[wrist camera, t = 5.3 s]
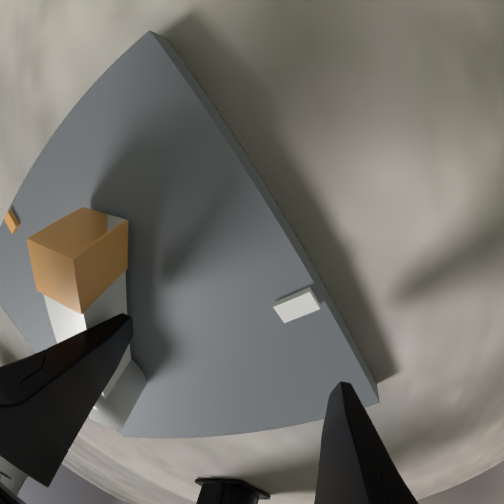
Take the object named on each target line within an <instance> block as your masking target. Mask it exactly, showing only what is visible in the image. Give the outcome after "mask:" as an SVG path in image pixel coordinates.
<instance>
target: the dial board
mask: <svg viewBox="0 0 504 504" xmlns="http://www.w3.org/2000/svg"><path fill="white" fill-rule="evenodd" d="M82 207H85V208H88V209H92V210H95V211H99V212H102V213H105V214H109V215H112V216H116V217H119V218H122V219H126V220H129V221H128V269H127V270H126V301H127V315H129V316H131V317H132V319H133V336H132V339H131V341H130V352H131V359H132V360H133V361H134V362H135V363H136V364H137V365H138V366H139V367H140V369H141V370H142V372H143V373H144V375H145V377H146V386H145V388H144V390H143V392H142V393H141V395H140V397H139V399H138V401H137V403H136V404H135V406H134V408H133V410H132V412H131V414H130V415H129V417H128V419H127V421H126V423H125V425H124V427H123V428H122V429H120V430H116V429H115V430H116V431H118V432H119V433H120V434H121V435H123V436H124V437H139V438H192V437H210V436H223V435H233V434H242V433H250V432H258V431H265V430H271V429H277V428H283V427H288V426H293V425H298V424H303V423H308V422H312V421H317V420H321V419H325V415H326V410H327V404H328V398H329V395H330V393H331V392H332V390H333V389H334V388H335V387H336V385H337V384H338V383H339V382H340V381H344V382H349V383H351V384H352V386H353V388H354V390H355V392H356V393H357V395H358V397H359V399H360V401H361V403H362V404H363V406H364V407H367V406H370V405H373V404H376V403H379V396H378V389H377V384H376V382H375V380H374V378H373V376H372V374H371V372H370V370H369V368H368V366H367V364H366V362H365V360H364V358H363V356H362V354H361V352H360V350H359V348H358V346H357V344H356V342H355V340H354V339H353V337H352V335H351V333H350V331H349V329H348V327H347V325H346V323H345V322H344V320H343V318H342V316H341V314H340V312H339V310H338V308H337V307H336V305H335V303H334V301H333V299H332V297H331V296H330V294H329V292H328V290H327V288H326V287H325V285H324V283H323V281H322V279H321V278H320V276H319V274H318V272H317V271H316V269H315V267H314V265H313V264H312V262H311V260H310V258H309V257H308V255H307V253H306V251H305V250H304V248H303V246H302V244H301V243H300V241H299V239H298V238H297V236H296V234H295V233H294V231H293V229H292V227H291V226H290V224H289V222H288V221H287V219H286V217H285V216H284V214H283V212H282V211H281V209H280V207H279V206H278V204H277V202H276V201H275V199H274V198H273V196H272V194H271V193H270V191H269V189H268V188H267V186H266V185H265V183H264V181H263V180H262V178H261V177H260V175H259V173H258V172H257V170H256V169H255V167H254V166H253V164H252V162H251V161H250V159H249V158H248V156H247V155H246V153H245V151H244V150H243V148H242V147H241V145H240V144H239V142H238V141H237V139H236V138H235V136H234V135H233V133H232V132H231V130H230V129H229V127H228V126H227V124H226V123H225V121H224V120H223V118H222V117H221V115H220V114H219V112H218V111H217V109H216V108H215V106H214V105H213V103H212V102H211V100H210V99H209V97H208V96H207V95H206V93H205V92H204V90H203V89H202V87H201V86H200V85H199V83H198V82H197V80H196V79H195V77H194V76H193V75H192V73H191V72H190V70H189V69H188V68H187V66H186V65H185V63H184V62H183V61H182V59H181V58H180V57H179V55H178V54H177V52H176V51H175V50H174V48H173V47H172V46H171V44H170V43H169V42H168V40H167V39H166V38H165V37H163V36H161V35H158V34H156V33H154V32H152V31H148V32H147V33H146V34H145V35H144V36H143V37H141V38H140V39H139V40H138V41H137V42H136V43H135V44H133V45H132V46H131V47H130V48H129V49H128V50H127V51H126V52H125V53H124V54H123V55H122V56H120V57H119V58H118V59H117V60H116V61H115V62H114V63H113V64H112V65H111V66H110V67H109V68H108V69H107V70H106V71H105V72H104V74H103V75H102V76H101V77H100V78H99V79H98V80H97V81H96V82H95V83H94V84H93V85H92V87H91V88H90V89H89V90H88V91H87V92H86V93H85V94H84V96H83V97H82V98H81V99H80V100H79V102H78V103H77V104H76V105H75V106H74V108H73V109H72V110H71V111H70V113H69V114H68V115H67V117H66V118H65V119H64V120H63V122H62V123H61V124H60V126H59V127H58V129H57V130H56V131H55V133H54V134H53V136H52V137H51V138H50V140H49V141H48V143H47V144H46V146H45V147H44V149H43V150H42V152H41V153H40V155H39V156H38V158H37V160H36V161H35V163H34V164H33V166H32V168H31V169H30V171H29V173H28V174H27V176H26V178H25V180H24V181H23V183H22V185H21V187H20V189H19V190H18V192H17V194H16V196H15V198H14V200H13V202H12V204H11V206H10V208H9V210H8V212H7V214H6V216H5V218H4V220H3V223H2V225H1V227H0V305H1V307H2V308H3V310H4V311H5V313H6V314H7V316H8V317H9V318H10V320H11V321H12V323H13V324H14V325H15V327H16V328H17V329H18V331H19V332H20V333H21V335H22V336H23V337H24V339H25V340H26V341H27V342H28V344H29V345H30V346H31V347H32V349H33V350H34V351H35V352H36V353H38V352H40V351H42V350H44V349H47V348H49V347H51V346H53V345H55V344H57V341H56V338H55V335H54V331H53V328H52V325H51V321H50V318H49V314H48V310H47V307H46V303H45V299H44V295H43V294H42V293H40V292H39V291H37V289H36V285H35V280H34V276H33V271H32V266H31V261H30V255H29V249H28V243H27V238H29V237H30V236H32V235H34V234H35V233H37V232H39V231H40V230H42V229H44V228H45V227H47V226H49V225H51V224H52V223H54V222H56V221H58V220H59V219H61V218H63V217H65V216H67V215H69V214H70V213H72V212H74V211H76V210H78V209H80V208H82Z"/></svg>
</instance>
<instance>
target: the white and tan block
mask: <svg viewBox="0 0 504 504" xmlns="http://www.w3.org/2000/svg"><path fill="white" fill-rule="evenodd" d="M128 221H129V220H126V219H122V218H119V217H116V216H112V215H109V214H105V213H102V212H99V211H95V210H92V209H88V208H85V207H82V208H80V209H78V210H76V211H74V212H72V213H70V214H69V215H67V216H65V217H63V218H61V219H59V220H58V221H56V222H54V223H52V224H51V225H49V226H47V227H45V228H44V229H42V230H40V231H39V232H37V233H35V234H34V235H32V236H30V237H29V238H27V243H28V249H29V255H30V261H31V266H32V271H33V276H34V280H35V285H36V289H37V291H39V292H40V293H42V294H43V295H44V299H45V303H46V307H47V310H48V314H49V318H50V321H51V325H52V328H53V331H54V335H55V338H56V341H57V343H59V342H61V341H63V340H66V339H68V338H70V337H72V336H74V335H76V334H78V333H80V332H82V331H84V330H87V329H89V328H91V327H93V326H95V325H97V324H99V323H101V322H103V321H105V320H108V319H110V318H112V317H114V316H116V315H118V314H120V313H125V314H127V301H126V270H127V269H128ZM145 386H146V377H145V375H144V373H143V372H142V370H141V369H140V367H139V366H138V365H137V364H136V363H135V362H134V361H133V360H132V359H131V352H130V343H129V345H128V347H127V349H126V351H125V353H124V355H123V357H122V359H121V361H120V364H119V366H118V368H117V370H116V371H115V373H114V375H113V376H112V378H111V379H110V381H109V383H108V384H107V386H106V387H105V389H104V391H103V392H102V394H101V395H100V397H99V399H98V400H97V402H96V404H95V405H94V407H93V409H92V410H91V412H90V414H89V415H88V417H89V418H91V419H92V420H94V421H96V422H97V423H99V424H101V425H103V426H106V427H108V428H111V429H116V430H120V429H122V428H123V427H124V425H125V423H126V421H127V419H128V417H129V415H130V414H131V412H132V410H133V408H134V406H135V404H136V403H137V401H138V399H139V397H140V395H141V393H142V392H143V390H144V388H145Z"/></svg>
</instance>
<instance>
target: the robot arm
mask: <svg viewBox="0 0 504 504" xmlns="http://www.w3.org/2000/svg"><path fill="white" fill-rule="evenodd" d="M132 336H133V319H132V317H131V316H129V315H127V314H125V313H120V314H118V315H116V316H114V317H112V318H110V319H108V320H105V321H103V322H101V323H99V324H97V325H95V326H93V327H91V328H89V329H87V330H84V331H82V332H80V333H78V334H76V335H74V336H72V337H70V338H68V339H66V340H63V341H61V342H59V343H57V344H55V345H53V346H51V347H49V348H47V349H44V350H42V351H40V352H38V353H36V354H34V355H31V356H29V357H27V358H24V359H21V360H19V361H16V362H13V363H10V364H7V365H4V366H1V367H0V504H26V503H25V502H23V501H22V500H21V499H20V498H19V497H17V496H18V494H19V492H20V491H21V489H22V487H23V485H24V484H25V482H26V480H27V478H28V477H29V476H30V477H31V478H33V479H34V480H36V481H38V482H39V483H41V484H43V485H44V486H46V487H49V485H50V484H51V482H52V480H53V478H54V476H55V474H56V472H57V470H58V468H59V466H60V465H61V463H62V461H63V459H64V457H65V456H66V454H67V452H68V449H69V448H70V446H71V445H72V443H73V441H74V439H75V438H76V436H77V434H78V432H79V431H80V429H81V427H82V426H83V424H84V422H85V420H86V419H87V417H88V415H89V414H90V412H91V410H92V409H93V407H94V405H95V404H96V402H97V400H98V399H99V397H100V395H101V394H102V392H103V391H104V389H105V387H106V386H107V384H108V383H109V381H110V379H111V378H112V376H113V375H114V373H115V371H116V370H117V368H118V366H119V364H120V361H121V359H122V357H123V355H124V353H125V351H126V349H127V347H128V345H129V343H130V341H131V339H132ZM389 457H390V456H389V454H388V452H387V450H386V448H385V446H384V444H383V442H382V440H381V438H380V437H379V435H378V433H377V431H376V429H375V427H374V425H373V423H372V421H371V419H370V418H369V416H368V414H367V412H366V410H365V408H364V406H363V404H362V403H361V401H360V399H359V397H358V395H357V393H356V392H355V390H354V388H353V386H352V384H351V383H349V382H344V381H340V382H339V383H338V384H337V385H336V387H335V388H334V389H333V390H332V392H331V393H330V395H329V398H328V404H327V410H326V415H325V420H324V425H323V431H322V438H321V450H320V461H319V470H318V479H317V488H316V495H315V503H314V504H418V502H417V501H416V499H415V498H414V496H413V495H412V493H411V492H410V490H409V489H408V487H407V486H406V484H405V482H404V481H403V479H402V478H401V476H400V474H399V473H398V471H397V469H396V467H395V465H394V463H393V461H392V459H391V458H389ZM195 483H197V484H199V485H200V486H202V488H201V491H200V494H199V497H198V500H197V503H196V504H258V499H270V495H268V494H266V493H264V492H262V491H260V490H258V489H256V488H254V487H252V486H250V485H248V484H246V483H244V482H242V481H235V480H205V479H196V480H195Z"/></svg>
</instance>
